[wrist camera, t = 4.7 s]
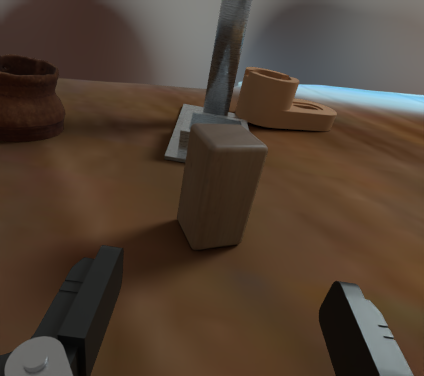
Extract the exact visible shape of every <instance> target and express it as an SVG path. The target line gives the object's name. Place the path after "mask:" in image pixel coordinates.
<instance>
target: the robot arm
mask: <svg viewBox="0 0 424 376" xmlns="http://www.w3.org/2000/svg"><path fill="white" fill-rule="evenodd" d="M123 252H124V251H123V248H118V247H112V246H105V245H102V246H101V248H100V250H99V252H98V254H97V256H96V258H95V259H91V258H83V259H82V260H80V261H79V262H78V263H77V264H75V265H74V266H73V267H72V268H71V270H70V272H69V274H68V275H67V277H66V279H65V282H63V284H62V286H61V288H60V289H59V292H58V293H57V295H56V296H55V298H54V300H53V302H52V304H51V305H50V307H49V309H48V311H47V312H46V314H45V316H44V318H43V319H42V321H41V323H40V325H39V327H38V328H37V330H36V332H35V333H34V335H33V336H32V337H31V338H30V339H29V340H28V341H26V342H24V343H22V344H21V345H20V346H18V347H17V348H16V349H15V350H14V351H12V352H10V353H7V354H4V355H0V376H90V375H91V372H92V369H93V366H94V363H95V361H96V358H97V355H98V352H99V349H100V346H101V344H102V341H103V338H104V335H105V332H106V329H107V326H108V324H109V321H110V318H111V315H112V312H113V309H114V307H115V304H116V301H117V298H118V295H119V292H120V288H121V283H122V273H123ZM319 323H320V326H321V329H322V333H323V336H324V339H325V342H326V346H327V349H328V352H329V355H330V358H331V362H332V365H333V368H334V371H335V374H336V376H414V375H413V374H412V372H411V370H410V368H409V366H408V364H407V362H406V360H405V358H404V356H403V354H402V352H401V350H400V349H399V347H398V345H397V343H396V341H395V340H394V339H393V338H394V337H393V335H392V333H391V331H390V329H388V325H387V324H386V322H385V320H384V318H383V316H382V314H381V312H380V311H379V310H378V309H377V308H376V307H375V306H374V305H373V304H372V302H371V301H370V300H365V298H364V296H363V294H362V292H361V290H360V288H359V286H358V285H357V284H353V283H346V282H339V281H335V282H334V283H333V284H332V286H331V288H330V290H329V292H328V294H327V295H326V297H325V299H324V301H323V303H322V305H321V307H320V310H319Z"/></svg>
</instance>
